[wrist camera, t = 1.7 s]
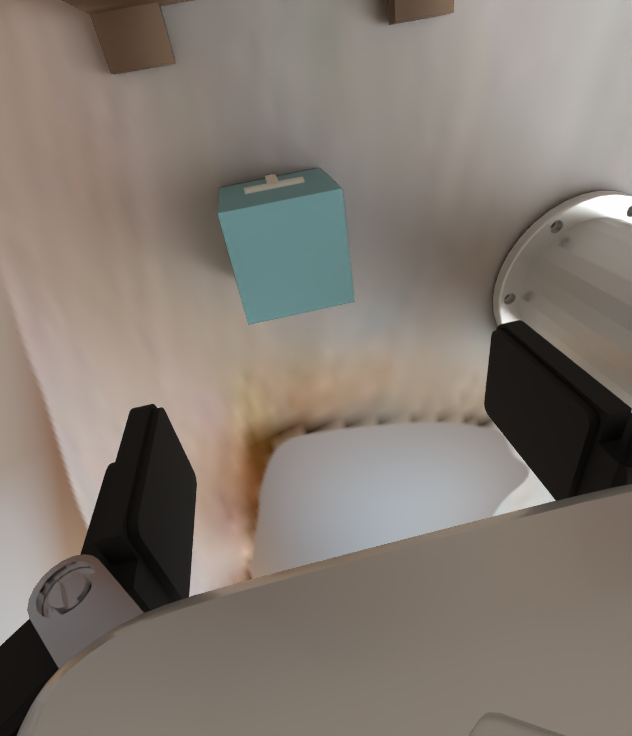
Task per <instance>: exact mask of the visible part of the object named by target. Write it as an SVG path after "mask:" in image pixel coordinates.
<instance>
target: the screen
mask: <svg viewBox="0 0 632 736" xmlns="http://www.w3.org/2000/svg"><path fill="white" fill-rule="evenodd" d="M63 1H65V2H67V3H69V4H71V5H73V6H75V7H77V8H79V9H81V10H83V11H85V12H87V13H89V14H90V16H91V19H92V21H93V24H94V27H95V30H96V33H97V36H98V38H99V41H100V44H101V47H102V50H103V52H104V55H105V58H106V61H107V64H108V67H109V69H110V72H111V74H120V73H125V72H131V71H136V70H142V69H148V68H153V67H159V66H164V65H170V64H175V63H176V62H175V58H174V54H173V51H172V47H171V44H170V40H169V36H168V33H167V29H166V26H165V22H164V18H163V15H162V11H161V8H160V6H163V5H169V4H175V3H180V2H186V1H192V0H63ZM388 7H389V25H392V24H397V23H403V22H408V21H414V20H419V19H425V18H430V17H436V16H441V15H446V14H449V13H453V12H454V0H388Z"/></svg>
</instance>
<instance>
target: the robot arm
mask: <svg viewBox="0 0 632 736" xmlns="http://www.w3.org/2000/svg"><path fill="white" fill-rule="evenodd" d="M493 312H494V316H495V320H496V323H497V325H498V327H497V330H496V331H494V332H493V333H492V336H491V345H490V354H489V364H488V373H487V382H486V392H485V401H484V405H485V410H486V412H487V414H488V415H489V417H490V418H491V419H492V421H493V422H494V423H495V424H496V426H497V427H498V428H499V429H500V431H501V432H502V433H503V434H504V436H505V437H506V438H507V439H508V441H509V442H510V443H511V445H512V446H513V447H514V448H515V450H516V451H517V452H518V453H519V455H520V456H521V457H522V458H523V460H524V461H525V462H526V463H527V465H528V466H529V467H530V468H531V470H532V471H533V472H534V474H535V475H536V476H537V477H538V479H539V480H540V481H541V482H542V484H543V485H544V486H545V487H546V489H547V490H548V491H549V492H550V494H551V495H552V496H553V497H554V499H555V500H556V501H553V502H549V503H545V504H541V505H537V506H533V507H529V508H525V509H521V510H518V511H514V512H510V513H506V514H502V515H498V516H494V517H490V518H486V519H482V520H478V521H474V522H470V523H466V524H462V525H458V526H454V527H450V528H447V529H443V530H439V531H435V532H431V533H427V534H423V535H419V536H415V537H412V538H408V539H404V540H400V541H396V542H392V543H388V544H384V545H381V546H376V547H373V548H369V549H365V550H361V551H357V552H354V553H349V554H346V555H342V556H338V557H334V558H331V559H327V560H323V561H319V562H315V563H311V564H308V565H304V566H300V567H296V568H292V569H289V570H285V571H281V572H277V573H274V574H270V575H266V576H262V577H259V578H255V579H251V580H247V581H244V582H240V583H237V584H233V585H230V586H226V587H223V588H219V589H215V590H212V591H208V592H205V593H201V594H198V595H194V596H191V597H189V589H190V575H191V561H192V546H193V532H194V517H195V503H196V488H197V482H196V476H195V473H194V471H193V469H192V466H191V464H190V462H189V460H188V458H187V456H186V454H185V452H184V450H183V448H182V445H181V443H180V441H179V439H178V437H177V435H176V433H175V431H174V429H173V427H172V424H171V422H170V420H169V418H168V416H167V414H166V412H165V410H164V409H163V408H162V407H161V408H157V407H156V406H155V405H154V404H150V405H146V406H141V407H137V408H133V409H131V410H130V413H129V416H128V420H127V423H126V427H125V430H124V434H123V437H122V441H121V444H120V447H119V451H118V454H117V458H116V461H115V462H114V463H111V464H110V465H109V466H108V468H107V470H106V473H105V476H104V479H103V482H102V486H101V489H100V492H99V496H98V499H97V502H96V505H95V509H94V512H93V515H92V518H91V522H90V525H89V528H88V532H87V535H86V538H85V541H84V545H83V548H82V551H81V554H80V555H76V556H73V557H70V558H68V559H66V560H64V561H62V562H60V563H59V564H58V565H56V566H54V567H53V568H51V569H50V570H49V571H48V572H47V573H46V574H45V575H44V576H43V577H42V578H41V580H40V581H39V582H38V584H37V585H36V586H35V588H34V590H33V592H32V594H31V596H30V598H29V603H28V609H27V610H28V614H29V618H30V619H29V620H28V621H27V622H26V623H24V624H23V625H22V626H21V627H20V628H19V629H18V630H17V631H16V632H15V633H14V634H13V635H12V636H11V637H10V638H9V639H7V640H6V641H5V642H4V643H3V644H2V645H1V646H0V736H632V195H630V194H626V193H622V192H617V191H595V192H590V193H586V194H581V195H579V196H577V197H574V198H572V199H569V200H567V201H565V202H563V203H561V204H560V205H558V206H556V207H555V208H553V209H551V210H550V211H548V212H547V213H546V214H544V215H543V216H542V217H541V218H539V219H538V220H537V221H536V222H534V223H533V224H532V225H531V226H530V227H529V229H528V230H527V231H526V232H525V233H524V234H523V235H522V236H521V237H520V238H519V240H518V241H517V242H516V244H515V245H514V247H513V248H512V249H511V251H510V252H509V254H508V256H507V257H506V259H505V261H504V263H503V265H502V267H501V269H500V272H499V275H498V278H497V281H496V284H495V289H494V295H493Z"/></svg>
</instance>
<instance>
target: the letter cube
mask: <svg viewBox="0 0 632 736" xmlns="http://www.w3.org/2000/svg"><path fill="white" fill-rule="evenodd" d="M217 214H218V217H219V221H220V224H221V228H222V231H223V235H224V239H225V242H226V246H227V249H228V253H229V257H230V260H231V264H232V267H233V271H234V275H235V278H236V282H237V285H238V289H239V293H240V296H241V300H242V303H243V307H244V311H245V314H246V318H247V321H248V325H249V324H254V323H259V322H263V321H268V320H272V319H277V318H282V317H286V316H291V315H295V314H300V313H305V312H309V311H314V310H318V309H323V308H328V307H332V306H337V305H342V304H346V303H351V302H355V301H354V292H353V282H352V273H351V264H350V254H349V245H348V236H347V226H346V217H345V208H344V199H343V189H342V187H340V186H339V185H338V184H337V183H336V182H335V181H334V180H333V179H332V178H331V177H330V176H328V175H327V174H326V173H325V172H324V171H323V170H322V169H321V168H316V169H311V170H306V171H301V172H296V173H291V174H286V175H281V176H276V175H275V174H272V175H267V176H265V179H260V180H255V181H250V182H245V183H240V184H235V185H230V186H225V187H220V189H219V201H218V213H217Z"/></svg>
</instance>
